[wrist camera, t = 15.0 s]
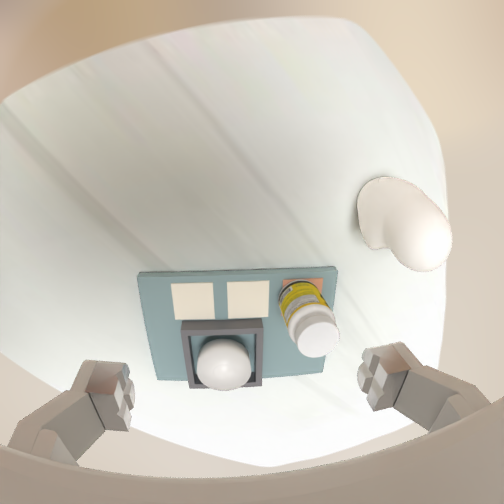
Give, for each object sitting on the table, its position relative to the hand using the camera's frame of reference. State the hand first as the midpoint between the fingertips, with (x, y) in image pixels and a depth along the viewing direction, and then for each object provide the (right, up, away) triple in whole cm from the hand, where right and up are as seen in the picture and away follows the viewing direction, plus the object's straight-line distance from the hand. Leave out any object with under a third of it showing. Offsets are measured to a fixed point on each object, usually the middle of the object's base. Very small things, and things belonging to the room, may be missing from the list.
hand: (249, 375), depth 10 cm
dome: (-3, -8, +26) cm, 28 cm away
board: (-1, -5, +27) cm, 27 cm away
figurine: (+15, +9, +23) cm, 29 cm away
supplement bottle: (+5, -1, +25) cm, 25 cm away
